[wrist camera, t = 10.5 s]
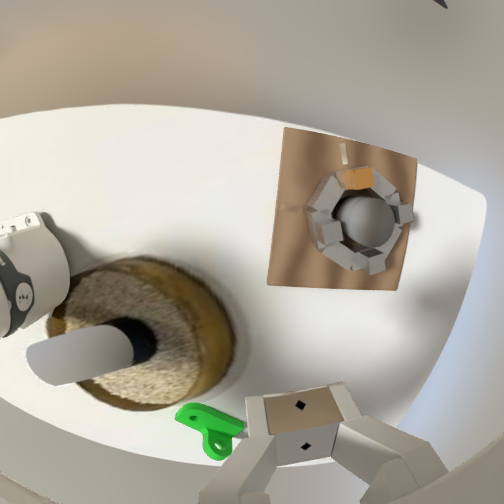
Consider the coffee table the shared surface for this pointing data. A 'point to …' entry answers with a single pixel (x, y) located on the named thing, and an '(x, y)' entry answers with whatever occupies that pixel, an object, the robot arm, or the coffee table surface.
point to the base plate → (299, 191)
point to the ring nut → (329, 229)
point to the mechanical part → (211, 428)
